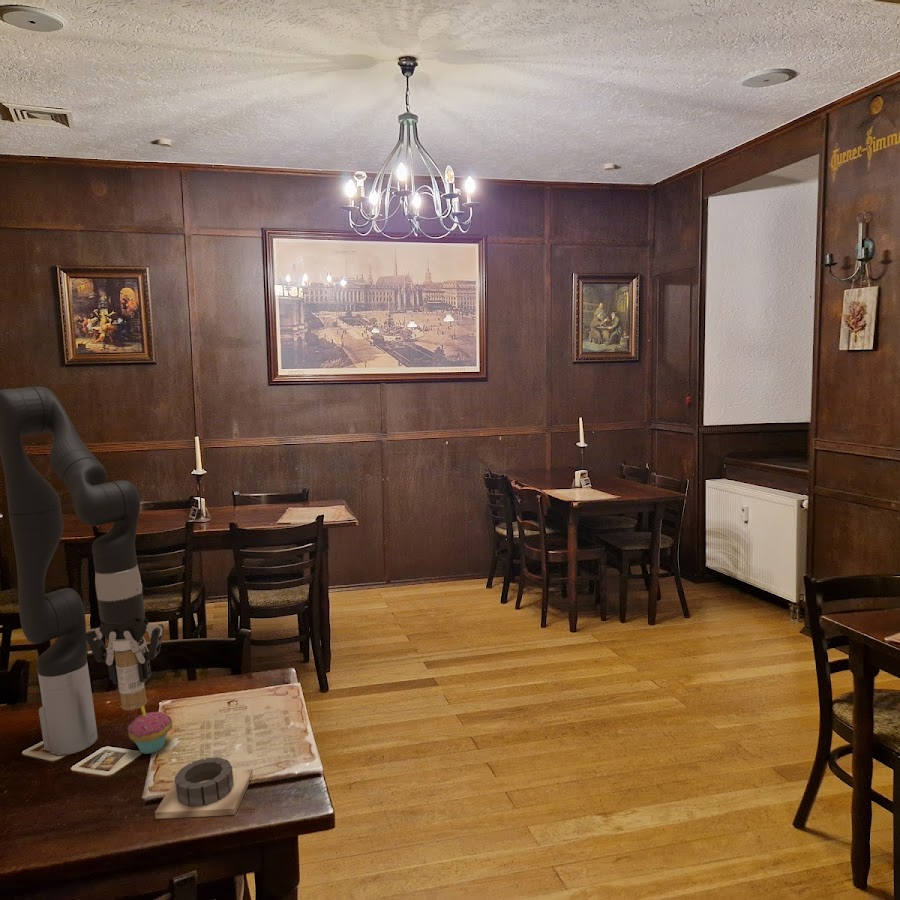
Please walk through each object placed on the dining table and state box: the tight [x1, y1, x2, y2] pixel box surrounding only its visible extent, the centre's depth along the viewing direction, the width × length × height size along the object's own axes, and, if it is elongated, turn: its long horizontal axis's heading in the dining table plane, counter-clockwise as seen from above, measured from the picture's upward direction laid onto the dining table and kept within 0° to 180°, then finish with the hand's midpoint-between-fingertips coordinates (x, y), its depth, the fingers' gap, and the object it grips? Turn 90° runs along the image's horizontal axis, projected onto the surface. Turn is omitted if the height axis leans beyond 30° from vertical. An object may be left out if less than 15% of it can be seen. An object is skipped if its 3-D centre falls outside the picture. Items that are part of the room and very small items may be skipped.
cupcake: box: [127, 705, 174, 755], centre depth 155 cm, size 9×8×12 cm
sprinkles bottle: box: [113, 639, 148, 711], centre depth 138 cm, size 5×5×14 cm
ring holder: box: [154, 756, 254, 820], centre depth 138 cm, size 14×12×5 cm
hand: (131, 680), depth 138 cm, fingers closed on sprinkles bottle, 4 cm apart
